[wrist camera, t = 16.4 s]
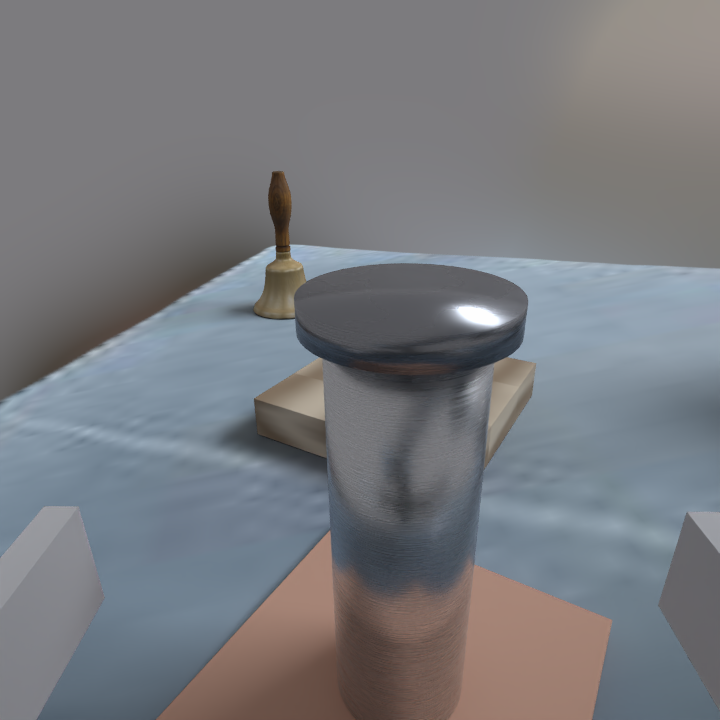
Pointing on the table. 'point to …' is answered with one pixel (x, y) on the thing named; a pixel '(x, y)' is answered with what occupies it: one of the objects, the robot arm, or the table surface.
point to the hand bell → (280, 258)
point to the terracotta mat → (481, 666)
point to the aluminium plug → (405, 468)
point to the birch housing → (307, 411)
